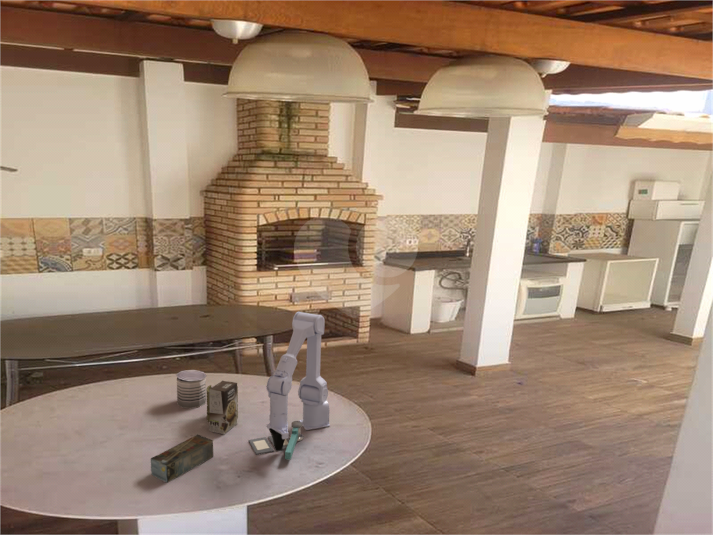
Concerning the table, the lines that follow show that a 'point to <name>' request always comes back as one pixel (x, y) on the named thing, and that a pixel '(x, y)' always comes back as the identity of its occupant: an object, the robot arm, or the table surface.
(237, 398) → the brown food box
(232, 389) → the coffee box
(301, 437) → the pivot post
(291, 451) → the bar
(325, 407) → the robot arm
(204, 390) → the can
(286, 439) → the label tile
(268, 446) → the label tile
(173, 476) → the beverage carton
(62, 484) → the table surface
